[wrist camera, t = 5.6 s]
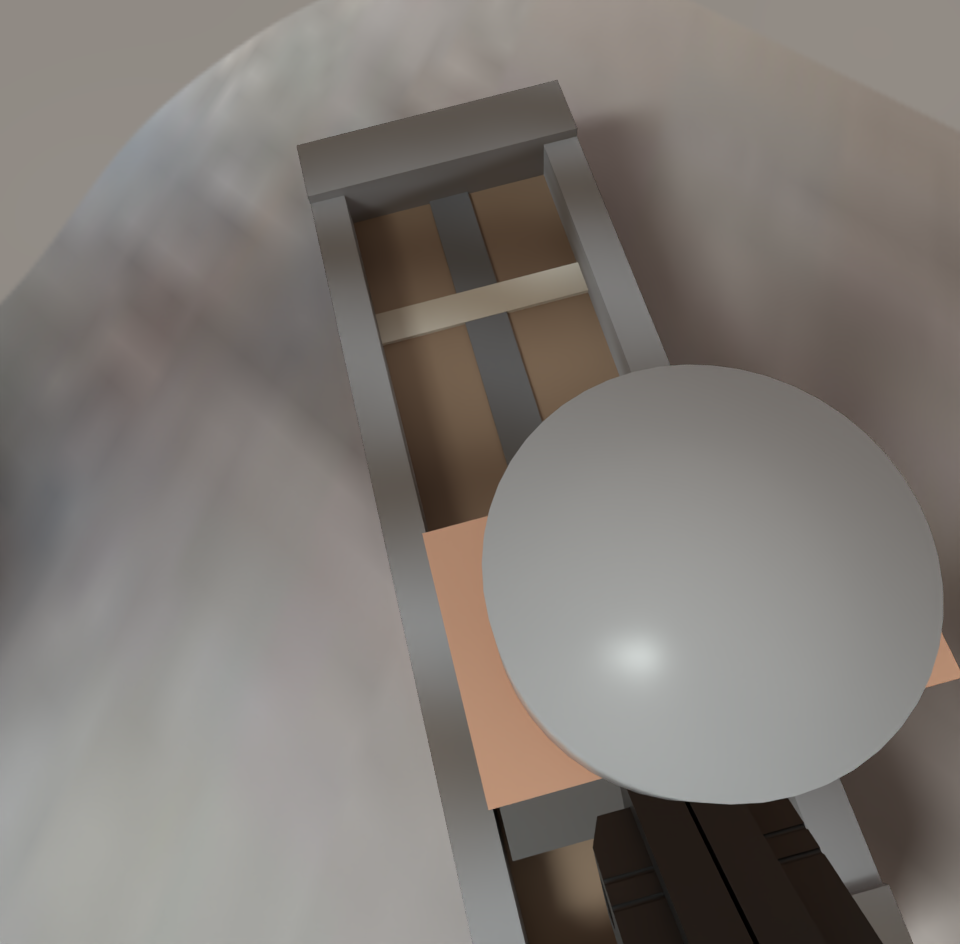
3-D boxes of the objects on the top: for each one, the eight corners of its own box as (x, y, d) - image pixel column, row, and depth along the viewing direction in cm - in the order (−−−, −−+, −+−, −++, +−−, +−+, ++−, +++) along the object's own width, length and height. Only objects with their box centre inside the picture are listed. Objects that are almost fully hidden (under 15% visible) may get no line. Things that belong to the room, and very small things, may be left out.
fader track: (864, 966, 17) (938, 1005, 14) (516, 1066, 17) (511, 1130, 14) (555, 166, 27) (557, 80, 23) (326, 224, 26) (296, 145, 23)
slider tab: (766, 782, 17) (1165, 765, 6) (515, 853, 17) (470, 964, 6) (685, 565, 19) (879, 261, 8) (459, 626, 19) (349, 401, 8)
